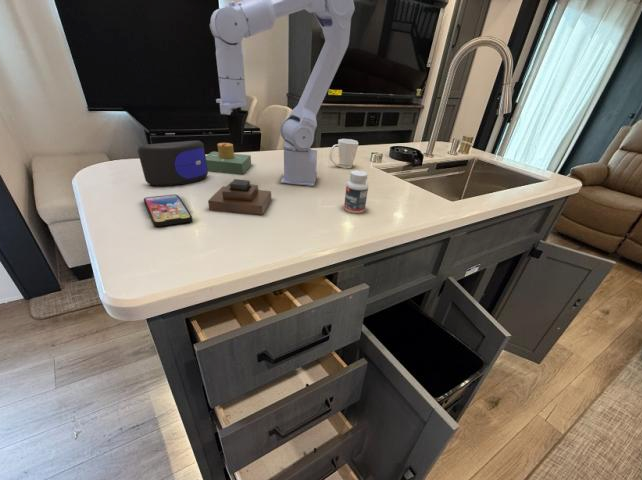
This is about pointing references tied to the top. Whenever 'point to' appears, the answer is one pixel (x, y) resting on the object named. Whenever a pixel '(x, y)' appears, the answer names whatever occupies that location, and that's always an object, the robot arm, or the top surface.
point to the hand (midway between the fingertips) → (237, 143)
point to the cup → (345, 152)
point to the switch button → (240, 185)
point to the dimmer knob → (225, 150)
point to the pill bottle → (356, 192)
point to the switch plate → (240, 200)
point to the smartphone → (167, 210)
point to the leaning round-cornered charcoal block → (173, 162)
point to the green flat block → (228, 163)
